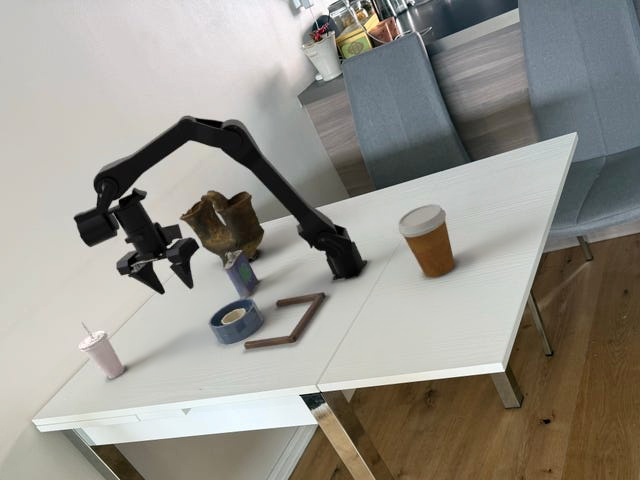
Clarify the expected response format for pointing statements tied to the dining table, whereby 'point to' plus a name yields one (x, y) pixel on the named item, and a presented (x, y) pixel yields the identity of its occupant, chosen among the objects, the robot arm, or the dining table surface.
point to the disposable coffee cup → (428, 239)
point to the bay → (317, 300)
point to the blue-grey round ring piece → (240, 326)
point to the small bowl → (233, 316)
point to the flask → (241, 273)
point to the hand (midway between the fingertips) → (177, 290)
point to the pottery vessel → (238, 219)
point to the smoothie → (101, 352)
